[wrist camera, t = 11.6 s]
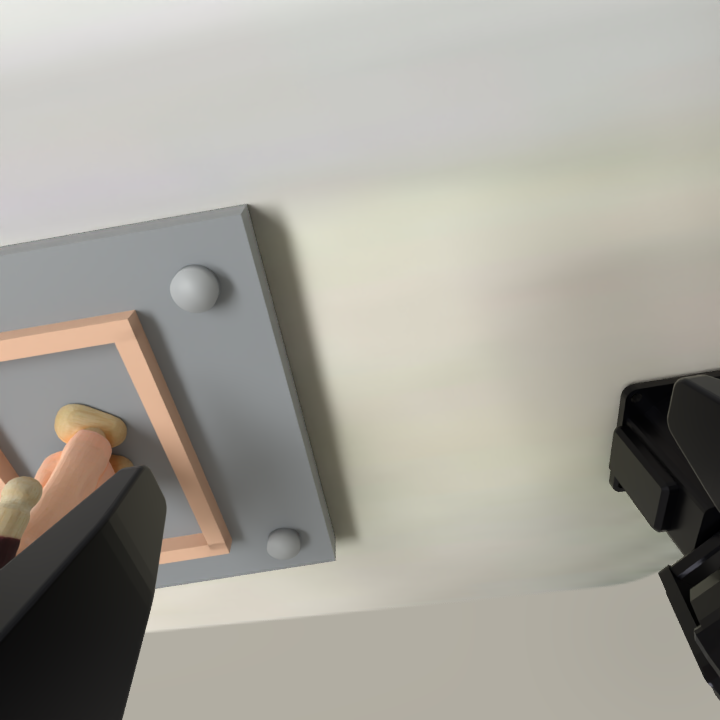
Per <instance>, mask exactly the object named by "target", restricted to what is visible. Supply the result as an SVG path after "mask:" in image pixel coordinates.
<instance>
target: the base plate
mask: <svg viewBox="0 0 720 720" xmlns="http://www.w3.org/2000/svg"><path fill="white" fill-rule="evenodd" d="M68 404H81V405H85V406H88V407H91V408H94V409H97V410H99V411H102V412H105V413H108V414H111V415H113V416H115V417H118V418H119V419H121V420H122V421H123V422H124V423H125V425H126V427H127V434H126V438H125V440H124V441H123V442H122V443H121V444H120V445H118V446H116V447H113V448H112V454H111V455H120V456H123V457H125V458H127V459H129V460H130V461H131V462H132V463H133V466H138V465H146V466H148V467H149V468H150V469H151V471H152V473H153V475H154V477H155V479H156V481H157V483H158V485H159V487H160V489H161V491H162V493H163V495H164V497H165V500H166V505H167V513H166V520H165V527H164V533H163V540H162V547H161V554H160V561H159V567H158V574H157V581H156V587H155V589H157V588H163V587H169V586H176V585H182V584H189V583H195V582H202V581H208V580H214V579H221V578H227V577H234V576H240V575H247V574H253V573H259V572H266V571H272V570H279V569H285V568H292V567H298V566H305V565H311V564H317V563H324V562H330V561H336V553H335V535H334V531H333V527H332V523H331V520H330V516H329V512H328V508H327V505H326V501H325V497H324V493H323V490H322V486H321V482H320V478H319V474H318V471H317V467H316V463H315V459H314V456H313V452H312V448H311V444H310V440H309V437H308V433H307V429H306V425H305V422H304V418H303V414H302V410H301V406H300V403H299V399H298V395H297V391H296V388H295V384H294V380H293V376H292V372H291V369H290V365H289V361H288V357H287V354H286V350H285V346H284V342H283V338H282V335H281V331H280V327H279V323H278V320H277V316H276V312H275V308H274V304H273V301H272V297H271V293H270V289H269V286H268V282H267V278H266V274H265V270H264V267H263V263H262V259H261V255H260V252H259V248H258V244H257V240H256V236H255V233H254V229H253V225H252V221H251V218H250V214H249V210H248V206H247V204H245V205H239V206H233V207H228V208H222V209H216V210H210V211H204V212H199V213H193V214H187V215H181V216H176V217H170V218H164V219H158V220H153V221H147V222H141V223H135V224H129V225H124V226H118V227H112V228H106V229H101V230H95V231H89V232H83V233H78V234H72V235H66V236H60V237H54V238H49V239H43V240H37V241H31V242H26V243H20V244H14V245H8V246H3V247H0V500H1V492H2V490H3V488H4V486H5V485H6V484H7V483H8V482H9V481H10V480H12V479H14V478H16V477H21V476H27V477H32V478H35V475H36V473H37V471H38V470H39V468H40V466H41V464H42V463H43V461H44V460H45V459H46V458H47V457H48V456H49V455H51V454H53V453H56V452H59V451H63V449H64V447H65V445H66V443H65V442H63V441H62V440H61V439H60V438H59V437H58V435H57V434H56V431H55V426H54V424H55V418H56V415H57V412H58V411H59V410H60V409H61V408H62V407H63V406H65V405H68Z"/></svg>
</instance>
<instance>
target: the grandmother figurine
mask: <svg viewBox="0 0 720 720" xmlns="http://www.w3.org/2000/svg"><path fill="white" fill-rule="evenodd" d="M54 426H55V431H56V434H57V435H58V437H59V438H60V439H61V440H62V441H63V442H65V443H66V445H65V447H64V449H63V451H59V452H56V453H53V454H51V455H49V456H48V457H47V458H46V459H45V460H44V461H43V463H42V464H41V466H40V468H39V470H38V471H37V473H36V475H35V478H32V477H27V476H21V477H16V478H14V479H12V480H10V481H9V482H8V483H7V484H6V485H5V486H4V488H3V490H2V492H1V500H0V569H1V568H3V567H4V566H5V565H6V564H7V563H9V562H10V561H11V560H12V559H13V558H15V557H16V556H17V555H18V554H19V553H21V552H22V551H23V550H24V549H25V548H27V547H28V546H29V545H30V544H31V543H33V542H34V541H35V540H36V539H37V538H39V537H40V536H41V535H42V534H43V533H45V532H46V531H47V530H48V529H49V528H51V527H52V526H53V525H54V524H55V523H57V522H58V521H59V520H60V519H61V518H63V517H64V516H65V515H66V514H67V513H69V512H70V511H71V510H72V509H73V508H75V507H76V506H77V505H78V504H79V503H81V502H82V501H83V500H84V499H85V498H87V497H88V496H89V495H90V494H91V493H93V492H94V491H95V490H96V489H97V488H99V487H100V486H101V485H102V484H103V483H105V482H106V481H107V480H108V479H109V478H111V477H112V476H113V475H114V474H115V473H117V472H118V471H119V470H120V469H122V468H126V467H132V466H133V463H132V462H131V461H130V460H129V459H127V458H125V457H123V456H120V455H111V454H112V448H113V447H116V446H118V445H120V444H121V443H122V442H123V441H124V440H125V438H126V434H127V427H126V425H125V423H124V422H123V421H122V420H121V419H119V418H118V417H115V416H113V415H111V414H108V413H105V412H102V411H99V410H97V409H94V408H91V407H88V406H85V405H81V404H68V405H65V406H63V407H62V408H61V409H60V410H59V411H58V412H57V415H56V418H55V424H54Z"/></svg>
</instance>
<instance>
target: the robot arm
mask: <svg viewBox="0 0 720 720" xmlns="http://www.w3.org/2000/svg"><path fill="white" fill-rule="evenodd" d="M634 394H636V395H635V396H634V397H632V396H633V395H634ZM609 469H610V470H611V472H610V479H609V483H610V485H611V486H612V488H613V489H614V490H615V491H617V492H623V491H626V492H627V494H628V495H629V497H630V498H631V499H632V501H633V502H634V504H635V505H636V506H637V508H638V509H639V510H640V512H641V513H642V515H643V516H644V517H645V519H646V520H647V522H648V523H649V524H650V526H651V527H652V528H653V529H654V530H656V531H657V532H665V531H666V532H667V534H668V535H669V536H670V538H671V539H672V540H673V542H674V543H675V544H676V546H677V547H678V548H679V550H680V551H681V552H682V554H683V555H684V557H683V558H681V559H680V560H679V561H677V562H676V563H675V564H673V565H672V566H670V565H668V566H666V567H665V568H664V569H662V570H661V571H660V572H659V573H658V574H659V576H660V578H661V581H662V583H663V585H664V587H665V590H666V594H667V596H668V598H669V601H670V603H671V605H672V607H673V610H674V612H675V614H676V616H677V618H678V621H679V623H680V625H681V627H682V630H683V632H684V634H685V636H686V639H687V641H688V643H689V645H690V647H691V650H692V652H693V654H694V657H695V659H696V661H697V663H698V665H699V668H700V670H701V672H702V674H703V677H704V678H705V680H706V681H707V683H708V684H709V685H710V686H711V687H712V688H713V691H714V693H715V695H716V696H717V697H718V699H719V700H720V370H718V371H712V372H706V373H700V374H694V375H688V376H681V377H675V378H669V379H663V380H657V381H650V382H644V383H638V384H633V385H629V386H628V387H626V388H625V389H624V390H623V391H622V394H621V400H620V407H619V414H618V421H617V427H616V429H615V431H614V434H613V442H612V449H611V456H610V464H609ZM166 513H167V505H166V500H165V497H164V495H163V493H162V491H161V489H160V487H159V485H158V483H157V481H156V479H155V477H154V475H153V473H152V471H151V469H150V468H149V467H148V466H146V465H138V466H132V467H126V468H122V469H120V470H119V471H118V472H117V473H115V474H114V475H113V476H112V477H111V478H109V479H108V480H107V481H106V482H105V483H103V484H102V485H101V486H100V487H99V488H97V489H96V490H95V491H94V492H93V493H91V494H90V495H89V496H88V497H87V498H85V499H84V500H83V501H82V502H81V503H79V504H78V505H77V506H76V507H75V508H73V509H72V510H71V511H70V512H69V513H67V514H66V515H65V516H64V517H63V518H61V519H60V520H59V521H58V522H57V523H55V524H54V525H53V526H52V527H51V528H49V529H48V530H47V531H46V532H45V533H43V534H42V535H41V536H40V537H39V538H37V539H36V540H35V541H34V542H33V543H31V544H30V545H29V546H28V547H27V548H25V549H24V550H23V551H22V552H21V553H19V554H18V555H17V556H16V557H15V558H13V559H12V560H11V561H10V562H9V563H7V564H6V565H5V566H4V567H3V568H1V569H0V720H122V718H123V714H124V710H125V707H126V703H127V698H128V695H129V691H130V687H131V684H132V679H133V676H134V672H135V668H136V664H137V660H138V657H139V653H140V649H141V645H142V641H143V637H144V634H145V630H146V626H147V622H148V618H149V614H150V610H151V606H152V602H153V598H154V592H155V587H156V581H157V574H158V567H159V561H160V554H161V547H162V540H163V533H164V527H165V520H166Z"/></svg>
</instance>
